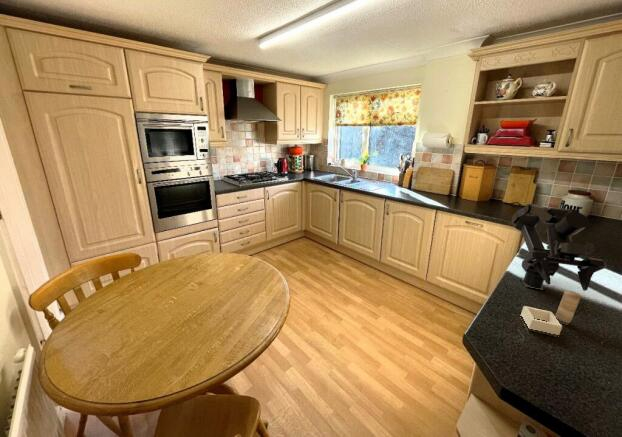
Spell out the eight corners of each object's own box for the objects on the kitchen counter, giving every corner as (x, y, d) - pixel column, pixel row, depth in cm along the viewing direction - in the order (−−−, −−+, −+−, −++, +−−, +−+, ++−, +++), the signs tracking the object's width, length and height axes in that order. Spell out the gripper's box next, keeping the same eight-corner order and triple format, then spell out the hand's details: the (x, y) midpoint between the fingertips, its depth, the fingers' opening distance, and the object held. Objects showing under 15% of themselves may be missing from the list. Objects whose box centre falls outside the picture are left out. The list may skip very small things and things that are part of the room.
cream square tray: (520, 316, 84) (523, 305, 83) (547, 322, 82) (551, 311, 80) (528, 330, 78) (532, 319, 77) (557, 338, 76) (562, 326, 74)
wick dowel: (552, 316, 85) (562, 289, 81) (566, 319, 83) (577, 292, 80) (557, 323, 81) (568, 295, 78) (572, 326, 80) (583, 298, 77)
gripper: (539, 227, 85) (545, 274, 78) (614, 235, 79) (627, 287, 73) (522, 240, 94) (526, 283, 88) (588, 249, 89) (597, 295, 82)
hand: (566, 287), depth 82 cm, fingers open, 9 cm apart
